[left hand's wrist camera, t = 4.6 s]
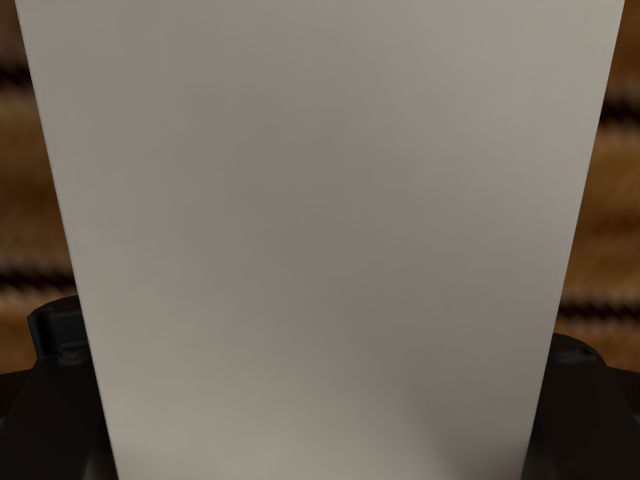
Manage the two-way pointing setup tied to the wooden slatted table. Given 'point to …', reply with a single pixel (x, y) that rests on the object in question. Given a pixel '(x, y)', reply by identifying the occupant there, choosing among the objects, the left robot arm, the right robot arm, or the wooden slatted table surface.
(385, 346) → the bar
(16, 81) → the wooden slatted table surface
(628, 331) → the wooden slatted table surface
